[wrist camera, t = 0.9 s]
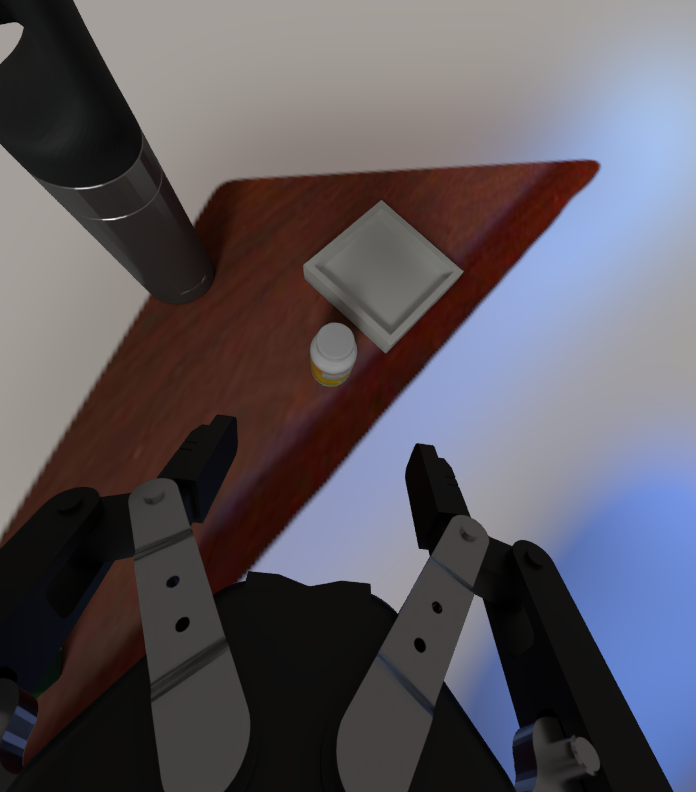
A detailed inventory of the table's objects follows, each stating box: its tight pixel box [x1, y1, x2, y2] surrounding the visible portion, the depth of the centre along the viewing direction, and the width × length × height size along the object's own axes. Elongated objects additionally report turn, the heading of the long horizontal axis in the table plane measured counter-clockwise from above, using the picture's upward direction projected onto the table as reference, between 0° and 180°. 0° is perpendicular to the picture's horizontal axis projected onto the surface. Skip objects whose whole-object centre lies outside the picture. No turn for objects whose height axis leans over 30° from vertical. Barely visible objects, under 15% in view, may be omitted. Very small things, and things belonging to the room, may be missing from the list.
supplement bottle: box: [310, 323, 357, 386], centre depth 35 cm, size 5×5×10 cm
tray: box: [303, 200, 463, 353], centre depth 42 cm, size 16×16×3 cm
